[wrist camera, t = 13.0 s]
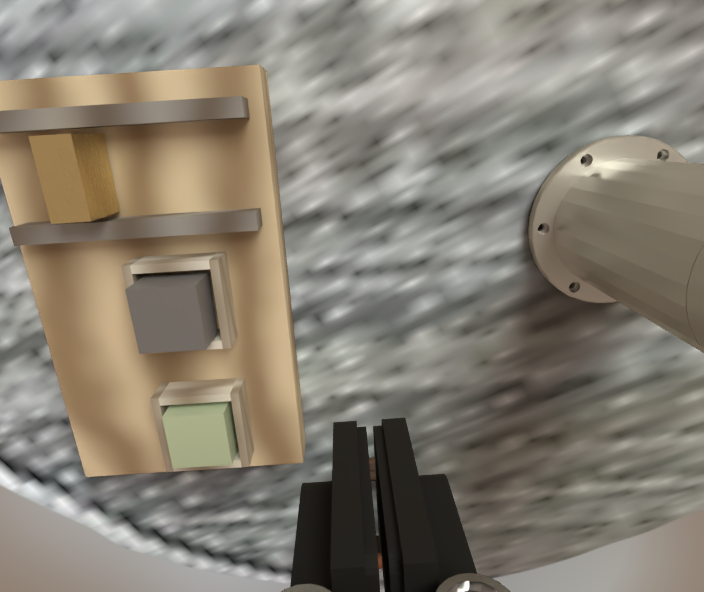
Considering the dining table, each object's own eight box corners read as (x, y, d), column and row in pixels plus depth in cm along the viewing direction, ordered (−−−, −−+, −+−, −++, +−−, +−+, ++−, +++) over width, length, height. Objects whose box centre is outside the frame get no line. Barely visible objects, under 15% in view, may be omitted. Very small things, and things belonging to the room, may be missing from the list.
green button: (232, 392, 37) (223, 413, 34) (239, 440, 38) (232, 464, 36) (175, 395, 37) (161, 417, 34) (185, 443, 38) (172, 468, 36)
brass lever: (103, 133, 31) (70, 133, 27) (120, 211, 33) (91, 221, 29) (66, 136, 31) (28, 136, 27) (84, 213, 33) (51, 223, 29)
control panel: (266, 70, 33) (253, 59, 28) (305, 440, 43) (300, 482, 37) (4, 86, 33) (-57, 78, 28) (102, 454, 42) (70, 497, 37)
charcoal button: (208, 272, 33) (195, 285, 30) (217, 331, 34) (206, 349, 31) (143, 276, 33) (125, 289, 30) (156, 335, 34) (139, 353, 31)
